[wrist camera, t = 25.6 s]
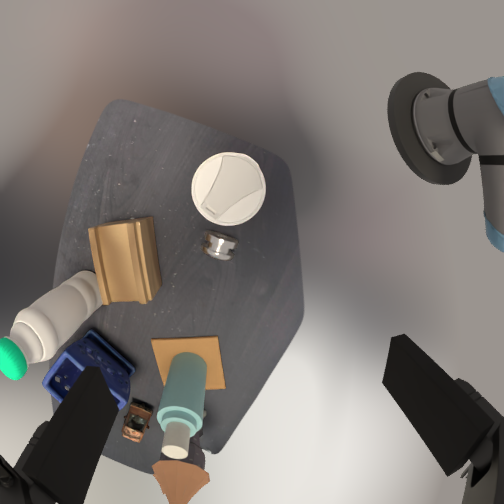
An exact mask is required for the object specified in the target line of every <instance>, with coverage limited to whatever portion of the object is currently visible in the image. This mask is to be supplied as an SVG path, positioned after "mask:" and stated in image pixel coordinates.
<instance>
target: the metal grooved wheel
mask: <svg viewBox="0 0 504 504" xmlns="http://www.w3.org/2000/svg"><path fill="white" fill-rule="evenodd" d="M204 238H205V239H206V240H207V243H202V244H201V250H202V252H203V253H204V254H206V255H207V256H209V257H212V258H214V259H218V260H222V261H230V260H232V259H233V258H234V253H233V252H232V251H231V249H237V246H238V243H239V241H238V240H236V239H235V238H233V237H230V236H228V235H225V234H222V233H219V232H215V231H210V230H206V232H205V235H204Z"/></svg>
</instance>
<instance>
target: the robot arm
mask: <svg viewBox="0 0 504 504" xmlns="http://www.w3.org/2000/svg"><path fill="white" fill-rule="evenodd" d="M411 121H412V126H413V130H414V133H415V136H416V138H417V140H418V142H419V144H420V146H421V147H422V149H423V150H424V152H425V153H426V154H427V155H428V156H429V157H430V158H431V159H432V160H434V161H435V162H437V163H439V164H442V165H452V164H456V163H459V162H461V161H462V160H464V159H466V158H468V157H469V156H471V155H473V154H478V155H479V161H480V167H481V168H480V169H481V176H482V186H483V196H484V217H485V225H486V235H487V237H488V239H489V240H490V242H491V244H493V246H494V247H496V248H497V249H498V250H500V251H502V252H504V76H502V77H496V78H495V77H490V78H489V79H487V80H484V81H480V82H477V83H474V84H470V85H467V86H464V87H461V88H458V89H455V90H451V89H441V88H428V89H425V90H422V91H420V92H419V93H417V94H416V96H415V97H414V99H413V101H412V105H411ZM382 383H383V385H384V386H385V387H386V388H387V390H388V391H389V393H390V394H391V396H392V397H393V398H394V400H395V401H396V402H397V404H398V405H399V407H400V408H401V410H402V411H403V412H404V414H405V415H406V417H407V418H408V420H409V421H410V422H411V424H412V425H413V427H414V428H415V429H416V431H417V432H418V434H419V435H420V437H421V438H422V440H423V441H424V442H425V444H426V445H427V447H428V448H429V450H430V451H431V452H432V454H433V456H434V457H435V459H436V460H437V462H438V463H439V465H440V466H441V468H442V469H443V471H444V472H445V474H446V475H447V476H450V475H451V474H453V473H454V472H456V471H457V470H459V469H460V468H462V467H463V466H464V464H465V463H466V462H467V461H468V459H470V461H471V462H472V463H471V464H470V465H469V466H468V467H467V469H466V470H465V471H464V472H463V473H462V475H461V478H463V477H464V476H465V475H466V474H467V473H468V475H467V477H466V478H467V482H466V487H465V492H464V496H463V501H462V504H504V417H503V416H502V415H501V414H500V413H499V412H498V411H497V410H496V409H495V408H494V407H493V406H492V405H491V404H490V403H489V402H488V401H487V400H486V399H485V398H484V397H481V395H480V393H479V392H476V390H475V389H474V388H473V387H472V386H471V385H470V384H469V383H468V382H466V381H464V380H461V379H459V378H458V379H456V380H453V379H452V378H451V377H450V376H449V375H448V374H447V373H446V372H445V371H444V370H443V369H442V368H441V367H439V366H438V364H436V363H435V362H434V361H433V360H432V359H431V358H430V357H429V356H428V355H427V354H426V353H425V352H424V351H423V350H422V349H421V348H419V347H418V346H417V345H416V344H415V343H414V342H413V341H412V340H411V339H410V338H409V337H408V336H407V335H405V334H402V335H398V336H395V337H392V338H391V342H390V348H389V353H388V358H387V363H386V368H385V372H384V377H383V381H382ZM118 411H119V408H118V406H117V404H116V402H115V400H114V398H113V396H112V394H111V391H110V389H109V387H108V385H107V383H106V381H105V378H104V376H103V374H102V372H101V369H100V367H96V366H86V367H85V368H84V370H83V371H82V373H81V374H80V376H79V377H78V378H77V380H76V381H75V383H74V384H73V386H72V387H71V389H70V390H69V392H68V393H67V395H66V396H65V398H64V399H63V401H62V402H61V404H60V405H59V407H58V408H57V410H56V412H55V413H54V415H53V416H52V418H51V420H50V421H45V422H44V423H42V424H41V425H40V426H39V427H38V428H37V429H36V431H35V433H34V434H33V437H32V438H31V439H30V441H29V444H27V446H26V447H25V449H24V451H23V452H22V454H21V456H20V458H19V459H18V461H17V463H16V465H15V466H14V468H12V467H11V466H10V465H9V464H8V463H7V461H5V459H4V458H3V457H2V456H1V455H0V504H55V503H56V502H57V503H58V504H83V503H84V500H85V497H86V494H87V491H88V488H89V486H90V483H91V480H92V477H93V474H94V472H95V469H96V466H97V463H98V461H99V458H100V456H101V453H102V450H103V448H104V445H105V443H106V440H107V438H108V435H109V433H110V430H111V428H112V426H113V423H114V421H115V418H116V416H117V414H118Z"/></svg>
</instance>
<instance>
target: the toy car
mask: <svg viewBox="0 0 504 504" xmlns="http://www.w3.org/2000/svg"><path fill="white" fill-rule="evenodd" d="M152 413H153V411H152V410H150V409H148V408H147V407H145V406H144V403H142V404H141V405H140V404H137V403H134V402H131V405H130V410H129V413H128V414H127V416H124V418H125V421H124V425H123V428H122V432H123V434H122V436H124V437H126V438H129V439H131V440H133V441H136V442H138V443H139V442H140V440H141V439H142V437H143V434H144V432H145V429H146V427H147V428H148V429H149V426H148V421H149V419H150V416H152Z"/></svg>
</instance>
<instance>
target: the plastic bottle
mask: <svg viewBox="0 0 504 504" xmlns="http://www.w3.org/2000/svg"><path fill="white" fill-rule="evenodd" d="M206 374H207V365H206V363H205V361H204V360H203V359H202V358H201V357H200V356H199V355H197V354H194V353H190V352H183V353H179V354H177V355H176V356H175V357H174V358H173V359H172V362H171V365H170V369H169V372H168V376H167V379H166V383H165V387H164V390H163V394H162V398H161V402H160V405H159V409H158V413H157V420H158V422H159V423H160V425H161V428H162V430H163V431H164V432H165V435H164V440H163V445H162V452H163V453H164V454H165V455H166V456H168V457H171V458H174V459H183V458H186V457H187V456H188V450H189V440H190V437H192V436H194V435H195V433H196V432H197V431H199V430H200V429H201V427H202V425H203V410H204V397H205V385H206Z"/></svg>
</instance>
